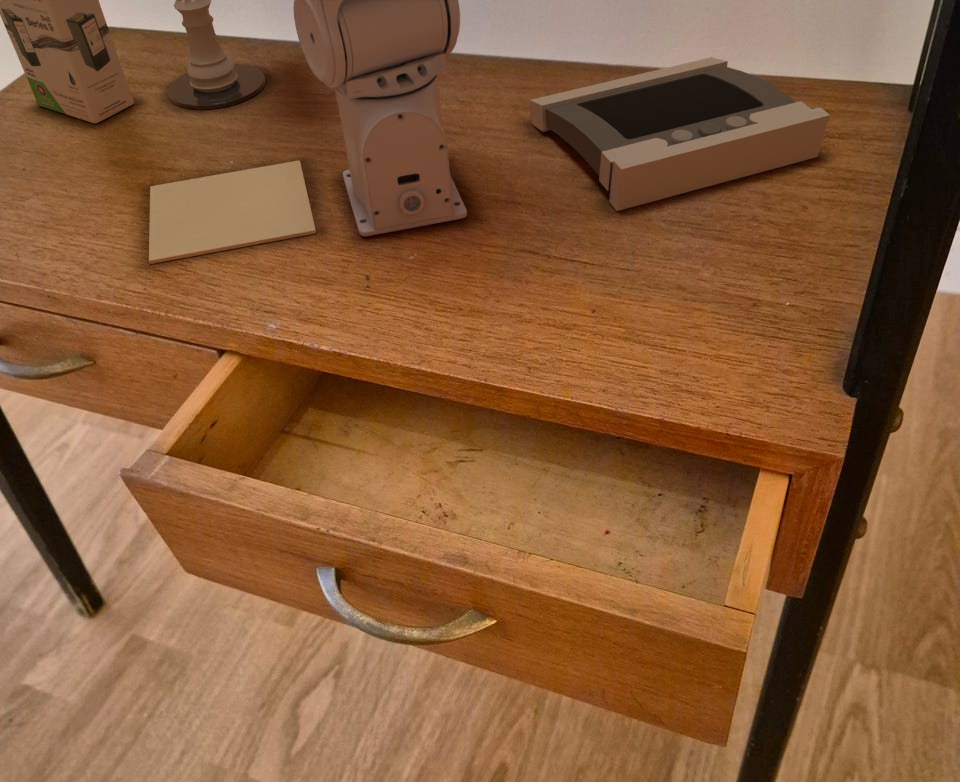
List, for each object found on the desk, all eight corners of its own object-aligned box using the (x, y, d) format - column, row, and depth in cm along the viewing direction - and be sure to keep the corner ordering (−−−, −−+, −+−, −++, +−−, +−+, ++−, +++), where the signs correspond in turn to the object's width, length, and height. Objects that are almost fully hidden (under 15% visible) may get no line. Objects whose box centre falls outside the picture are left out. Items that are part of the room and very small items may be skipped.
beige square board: (316, 233, 64) (315, 229, 64) (150, 264, 62) (148, 260, 62) (300, 163, 71) (299, 160, 71) (151, 189, 70) (150, 186, 70)
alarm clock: (621, 169, 61) (528, 64, 70) (615, 225, 65) (527, 119, 74) (830, 115, 64) (714, 22, 74) (813, 171, 68) (704, 76, 78)
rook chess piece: (228, 95, 80) (202, 1, 74) (183, 93, 81) (154, 0, 75) (246, 74, 83) (223, -18, 77) (202, 73, 84) (176, -19, 78)
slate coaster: (269, 100, 80) (268, 95, 79) (169, 116, 79) (167, 112, 78) (261, 61, 86) (260, 57, 85) (168, 76, 85) (167, 72, 84)
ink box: (35, 106, 82) (-26, -34, 73) (77, 85, 84) (23, -52, 76) (95, 125, 78) (39, -19, 70) (138, 103, 81) (88, -39, 72)
